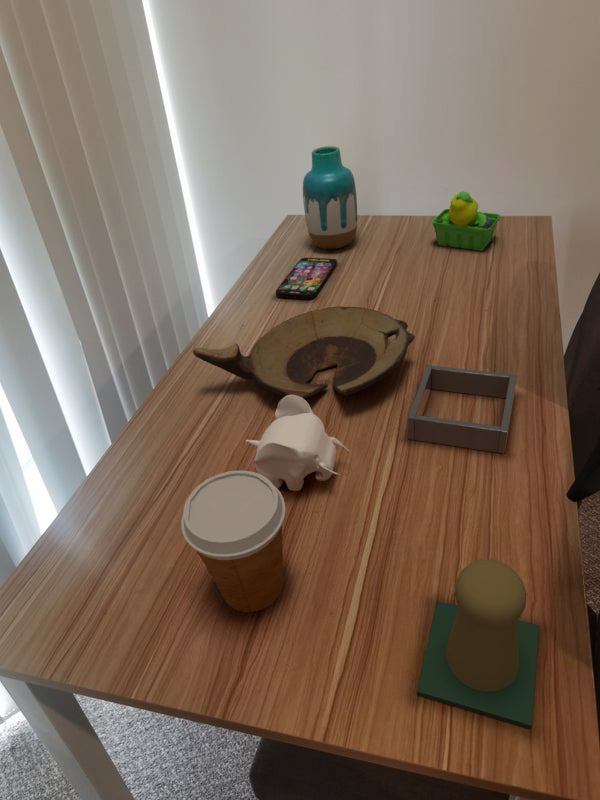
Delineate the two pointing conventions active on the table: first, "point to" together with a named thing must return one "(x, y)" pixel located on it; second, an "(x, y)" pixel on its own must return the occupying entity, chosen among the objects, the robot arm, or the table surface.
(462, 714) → the table surface
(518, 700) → the coaster
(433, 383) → the holder
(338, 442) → the elephant figurine
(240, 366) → the brown shallow dish
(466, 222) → the fruit basket
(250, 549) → the disposable coffee cup
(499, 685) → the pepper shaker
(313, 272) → the smartphone
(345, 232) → the vase
